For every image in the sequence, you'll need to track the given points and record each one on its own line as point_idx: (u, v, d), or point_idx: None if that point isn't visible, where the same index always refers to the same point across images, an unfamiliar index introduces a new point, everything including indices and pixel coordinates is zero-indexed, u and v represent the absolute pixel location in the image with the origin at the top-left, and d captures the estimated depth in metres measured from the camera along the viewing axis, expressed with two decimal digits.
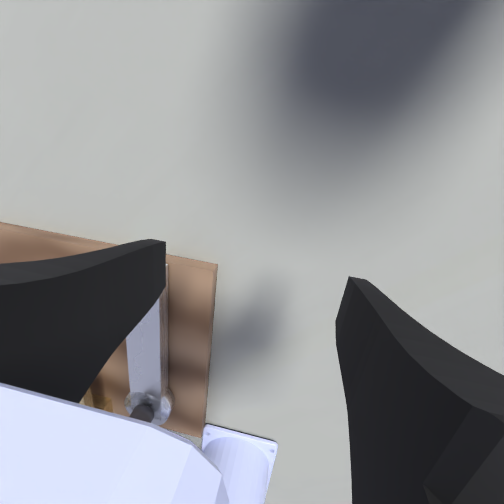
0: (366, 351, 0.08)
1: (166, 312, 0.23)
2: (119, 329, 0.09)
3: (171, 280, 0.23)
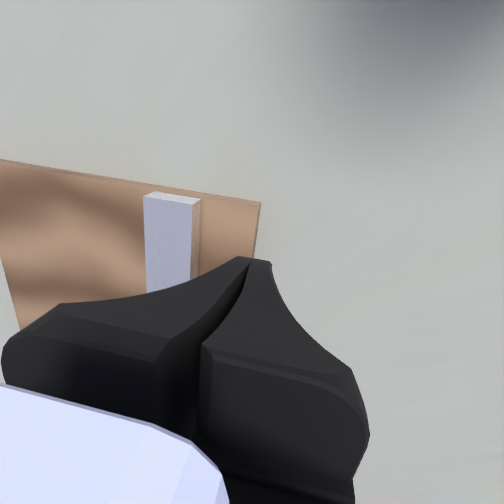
0: None
1: (196, 263, 0.19)
2: None
3: (204, 222, 0.18)
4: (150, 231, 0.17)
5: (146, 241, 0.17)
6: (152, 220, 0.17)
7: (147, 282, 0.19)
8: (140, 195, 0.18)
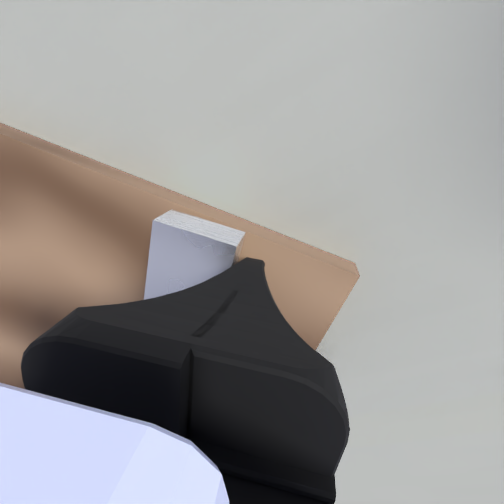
0: None
1: None
2: None
3: None
4: (156, 276, 0.10)
5: (147, 288, 0.11)
6: (163, 260, 0.10)
7: None
8: None
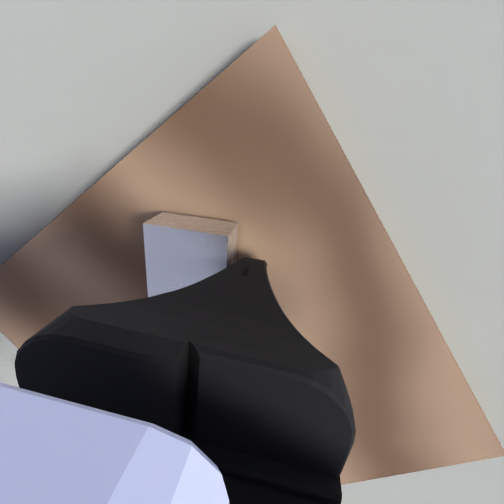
0: None
1: None
2: None
3: (441, 415, 0.13)
4: (156, 279, 0.10)
5: (150, 293, 0.11)
6: (159, 262, 0.10)
7: None
8: (426, 337, 0.11)
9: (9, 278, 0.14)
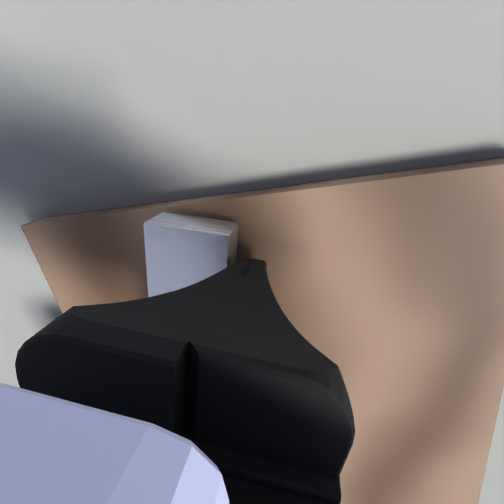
0: None
1: None
2: None
3: (444, 494, 0.15)
4: (157, 279, 0.10)
5: (150, 293, 0.11)
6: (160, 261, 0.10)
7: None
8: (478, 439, 0.13)
9: (94, 232, 0.12)
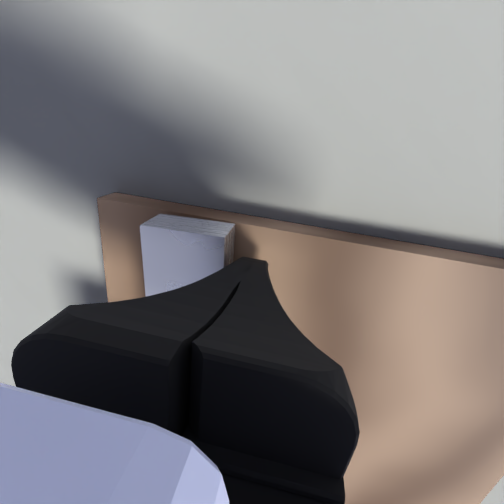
0: None
1: None
2: None
3: None
4: (154, 281, 0.10)
5: (148, 295, 0.11)
6: (157, 263, 0.10)
7: None
8: (472, 496, 0.14)
9: None
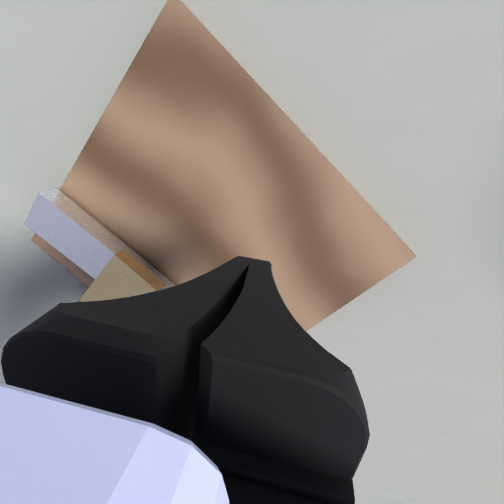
0: None
1: (103, 230, 0.20)
2: None
3: (359, 235, 0.18)
4: (51, 240, 0.20)
5: (58, 249, 0.20)
6: (43, 231, 0.20)
7: (92, 276, 0.21)
8: (325, 172, 0.17)
9: None
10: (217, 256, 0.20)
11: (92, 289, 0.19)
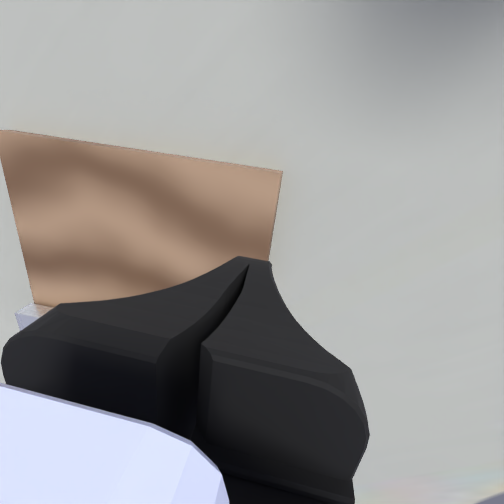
0: None
1: None
2: None
3: (225, 190, 0.18)
4: None
5: None
6: None
7: None
8: (161, 164, 0.18)
9: None
10: (151, 281, 0.22)
11: None
